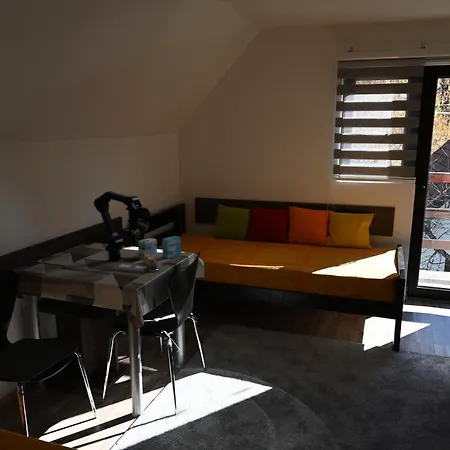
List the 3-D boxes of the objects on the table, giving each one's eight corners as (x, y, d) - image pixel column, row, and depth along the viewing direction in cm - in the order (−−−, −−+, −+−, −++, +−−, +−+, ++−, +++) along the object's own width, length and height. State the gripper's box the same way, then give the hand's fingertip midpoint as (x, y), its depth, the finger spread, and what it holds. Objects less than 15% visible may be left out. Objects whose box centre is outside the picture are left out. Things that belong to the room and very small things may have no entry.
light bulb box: (146, 259, 294) (145, 242, 292) (138, 258, 297) (137, 241, 295) (157, 255, 303) (157, 238, 301) (149, 254, 306) (148, 237, 304)
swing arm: (157, 268, 270) (157, 260, 269) (151, 269, 269) (151, 261, 268) (147, 259, 289) (147, 251, 288) (141, 260, 287) (141, 252, 286)
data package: (167, 259, 295) (167, 239, 293) (162, 257, 298) (161, 238, 295) (181, 255, 304) (180, 236, 302) (176, 253, 307) (175, 235, 305)
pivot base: (146, 271, 269) (146, 269, 269) (151, 268, 275) (151, 267, 275) (156, 272, 268) (156, 270, 267) (161, 269, 273) (161, 267, 273)
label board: (112, 270, 272) (112, 267, 272) (123, 264, 283) (122, 262, 283) (143, 273, 267) (143, 270, 266) (152, 267, 278) (152, 264, 278)
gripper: (139, 221, 268) (140, 249, 271) (153, 215, 285) (154, 241, 288) (121, 220, 271) (122, 247, 274) (136, 214, 288) (137, 240, 291)
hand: (134, 244), depth 282 cm, fingers closed
